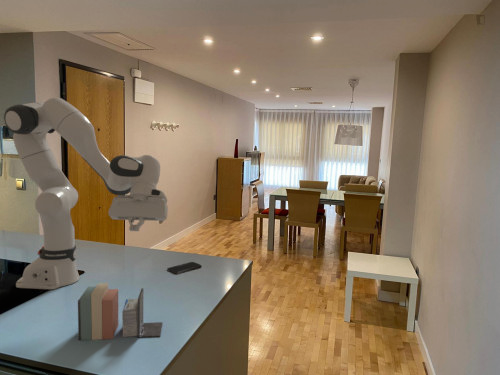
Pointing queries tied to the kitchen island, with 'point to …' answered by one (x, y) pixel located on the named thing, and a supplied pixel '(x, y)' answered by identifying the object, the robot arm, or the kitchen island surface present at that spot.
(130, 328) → the medicine box
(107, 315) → the books
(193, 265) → the phone
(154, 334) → the bookends
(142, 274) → the kitchen island surface
